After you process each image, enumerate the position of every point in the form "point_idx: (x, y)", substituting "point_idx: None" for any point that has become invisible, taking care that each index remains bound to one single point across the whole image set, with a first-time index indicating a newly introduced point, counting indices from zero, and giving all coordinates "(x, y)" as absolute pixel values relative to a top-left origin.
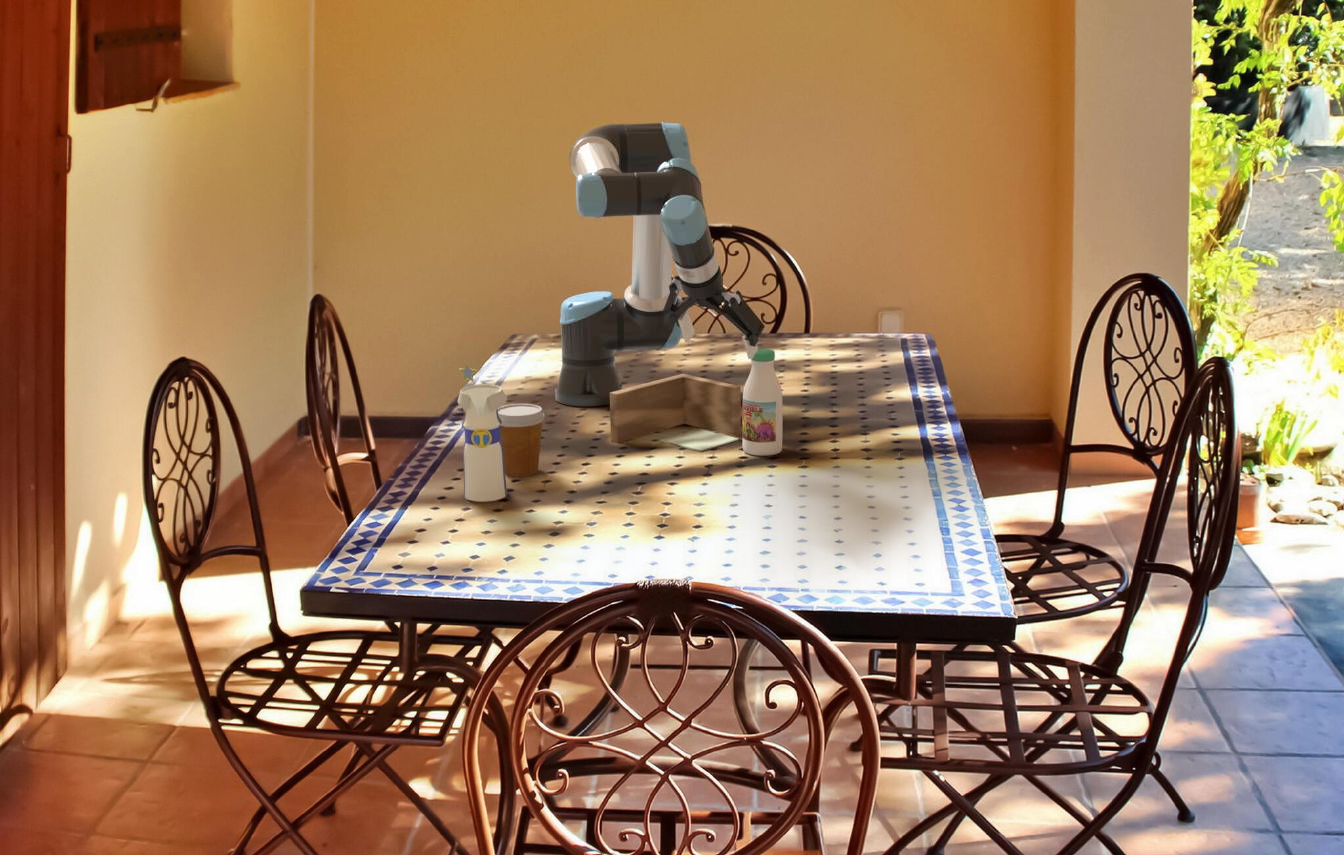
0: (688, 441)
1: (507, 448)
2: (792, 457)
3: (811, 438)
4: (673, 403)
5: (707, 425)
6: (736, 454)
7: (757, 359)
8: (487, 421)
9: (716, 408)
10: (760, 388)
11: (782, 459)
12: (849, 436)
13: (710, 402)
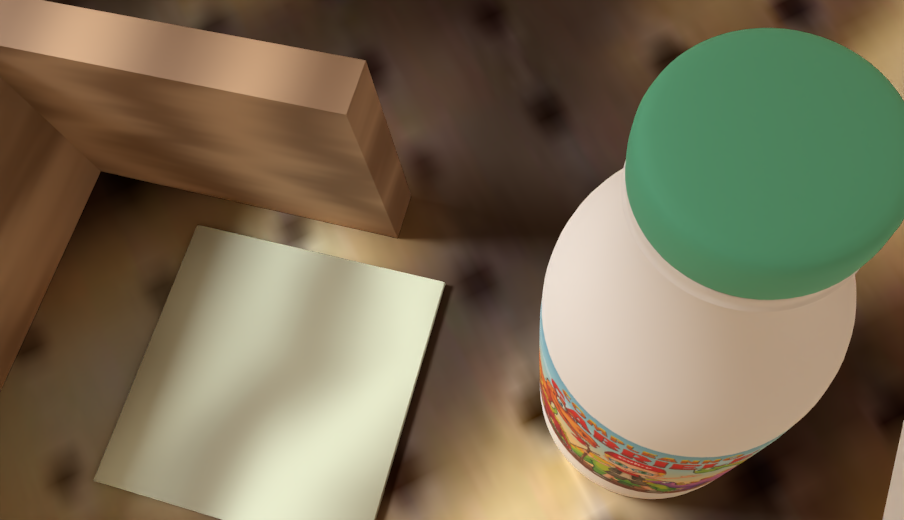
0: (237, 440)
1: None
2: (838, 426)
3: None
4: (7, 182)
5: (231, 193)
6: (552, 512)
7: (776, 297)
8: None
9: (256, 160)
10: (768, 409)
11: (813, 483)
12: (877, 7)
13: (207, 140)
